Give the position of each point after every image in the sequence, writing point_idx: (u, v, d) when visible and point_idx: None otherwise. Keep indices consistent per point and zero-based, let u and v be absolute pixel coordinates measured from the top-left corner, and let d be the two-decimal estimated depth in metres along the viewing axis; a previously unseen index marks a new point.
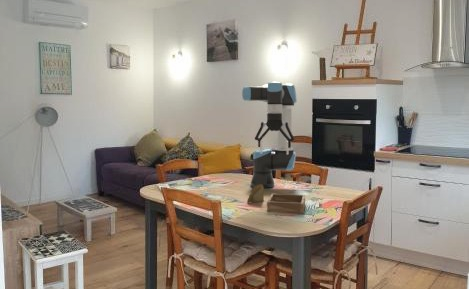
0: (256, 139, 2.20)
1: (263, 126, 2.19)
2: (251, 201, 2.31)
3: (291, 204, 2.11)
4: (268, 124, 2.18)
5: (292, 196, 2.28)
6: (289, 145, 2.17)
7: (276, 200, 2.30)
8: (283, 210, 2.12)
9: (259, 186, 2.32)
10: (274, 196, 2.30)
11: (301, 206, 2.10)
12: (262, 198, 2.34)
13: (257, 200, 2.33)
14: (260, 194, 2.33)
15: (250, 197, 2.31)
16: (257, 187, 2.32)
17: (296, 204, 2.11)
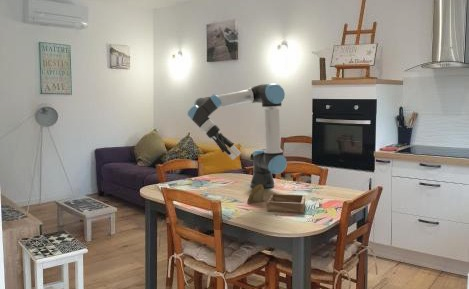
0: None
1: None
2: (251, 201, 2.31)
3: (291, 204, 2.11)
4: None
5: (292, 196, 2.28)
6: None
7: (276, 200, 2.30)
8: (283, 210, 2.12)
9: (259, 186, 2.32)
10: (274, 196, 2.30)
11: (301, 206, 2.10)
12: (262, 198, 2.34)
13: (257, 200, 2.33)
14: (260, 194, 2.33)
15: (250, 197, 2.31)
16: (257, 187, 2.32)
17: (296, 204, 2.11)
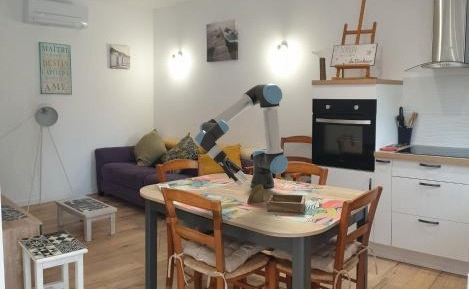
0: None
1: None
2: (251, 201, 2.31)
3: (291, 204, 2.11)
4: None
5: (292, 196, 2.28)
6: None
7: (276, 200, 2.30)
8: (283, 210, 2.12)
9: (259, 186, 2.32)
10: (274, 196, 2.30)
11: (301, 206, 2.10)
12: (262, 198, 2.34)
13: (257, 200, 2.33)
14: (260, 194, 2.33)
15: (250, 197, 2.31)
16: (257, 187, 2.32)
17: (296, 204, 2.11)
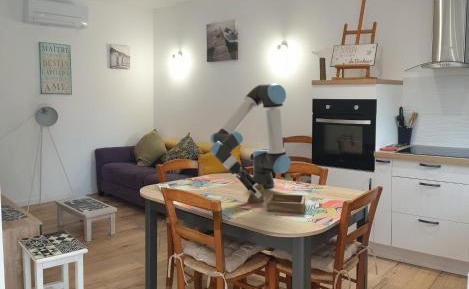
0: (252, 183, 2.41)
1: None
2: (251, 201, 2.31)
3: (291, 204, 2.11)
4: None
5: (292, 196, 2.28)
6: None
7: (276, 200, 2.30)
8: (283, 210, 2.12)
9: (259, 186, 2.32)
10: (274, 196, 2.30)
11: (301, 206, 2.10)
12: (262, 198, 2.34)
13: (257, 200, 2.33)
14: None
15: (250, 197, 2.31)
16: (257, 187, 2.32)
17: (296, 204, 2.11)
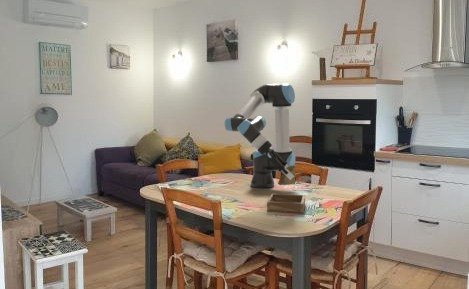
0: (282, 165, 2.26)
1: None
2: (282, 183, 2.16)
3: (291, 204, 2.11)
4: None
5: (292, 196, 2.28)
6: None
7: (276, 200, 2.30)
8: (283, 210, 2.12)
9: (291, 167, 2.17)
10: (274, 196, 2.30)
11: (301, 206, 2.10)
12: (294, 181, 2.19)
13: (288, 183, 2.18)
14: None
15: (281, 179, 2.16)
16: (289, 168, 2.17)
17: (296, 204, 2.11)
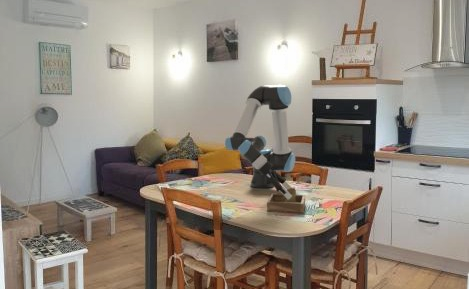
0: None
1: None
2: None
3: (291, 204, 2.11)
4: None
5: None
6: None
7: (276, 200, 2.30)
8: (283, 210, 2.12)
9: (291, 190, 2.18)
10: (274, 196, 2.30)
11: (301, 206, 2.10)
12: None
13: None
14: (292, 199, 2.19)
15: None
16: (289, 191, 2.18)
17: (296, 204, 2.11)
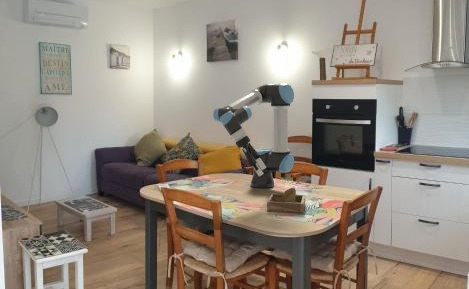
0: None
1: None
2: None
3: (291, 204, 2.11)
4: None
5: None
6: None
7: (276, 200, 2.30)
8: (283, 210, 2.12)
9: (291, 190, 2.18)
10: (274, 196, 2.30)
11: (301, 206, 2.10)
12: None
13: None
14: (292, 199, 2.19)
15: None
16: (289, 191, 2.18)
17: (296, 204, 2.11)
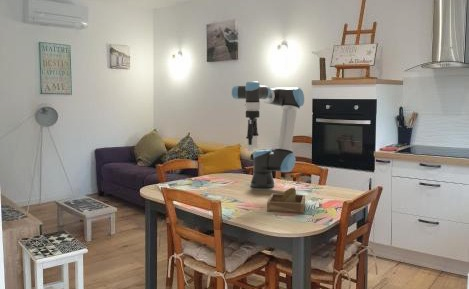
0: None
1: None
2: None
3: (291, 204, 2.11)
4: None
5: None
6: (248, 142, 2.25)
7: (276, 200, 2.30)
8: (283, 210, 2.12)
9: (291, 190, 2.18)
10: (274, 196, 2.30)
11: (301, 206, 2.10)
12: None
13: None
14: (292, 199, 2.19)
15: None
16: (289, 191, 2.18)
17: (296, 204, 2.11)
